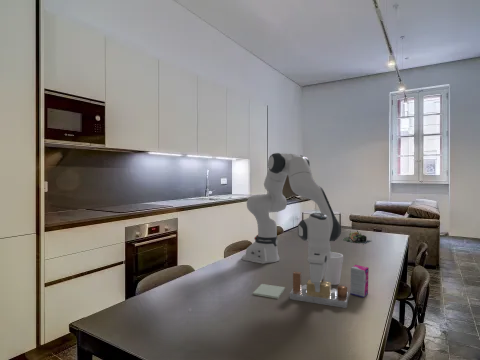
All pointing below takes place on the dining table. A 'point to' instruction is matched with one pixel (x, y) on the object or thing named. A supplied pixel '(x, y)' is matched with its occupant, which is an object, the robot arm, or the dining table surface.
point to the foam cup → (334, 268)
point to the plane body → (335, 299)
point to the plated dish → (357, 238)
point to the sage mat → (269, 291)
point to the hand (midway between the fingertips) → (319, 287)
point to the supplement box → (359, 281)
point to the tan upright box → (324, 288)
